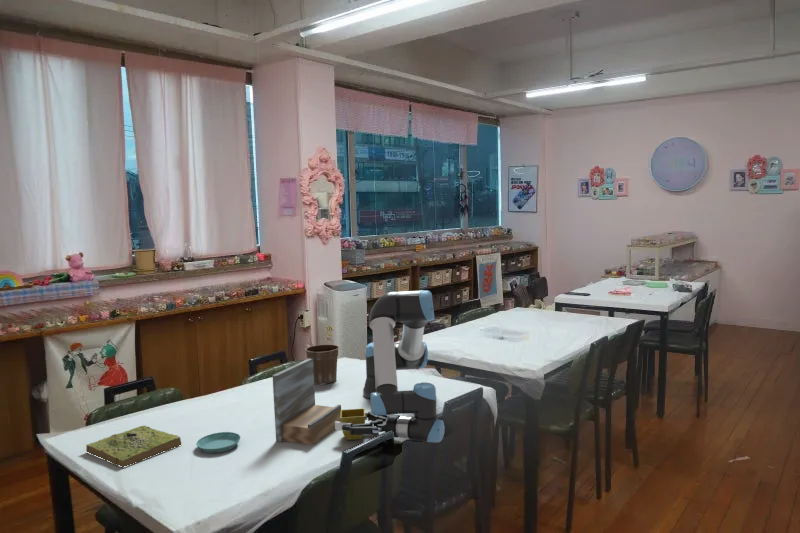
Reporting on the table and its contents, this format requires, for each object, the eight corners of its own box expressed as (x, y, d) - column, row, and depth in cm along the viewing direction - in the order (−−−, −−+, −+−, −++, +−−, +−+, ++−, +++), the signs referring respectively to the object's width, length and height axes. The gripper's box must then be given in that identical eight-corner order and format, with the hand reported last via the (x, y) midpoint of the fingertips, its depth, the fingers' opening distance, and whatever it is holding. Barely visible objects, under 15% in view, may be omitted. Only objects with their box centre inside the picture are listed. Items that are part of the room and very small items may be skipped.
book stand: (343, 422, 223) (340, 361, 221) (310, 446, 201) (306, 378, 199) (311, 418, 228) (308, 358, 226) (276, 441, 206) (272, 375, 204)
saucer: (195, 443, 208) (194, 436, 207) (237, 436, 213) (237, 429, 213) (198, 459, 194) (198, 451, 194) (243, 450, 200) (243, 443, 199)
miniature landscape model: (122, 470, 188) (121, 455, 188) (86, 454, 202) (84, 440, 201) (182, 446, 206) (181, 433, 205) (144, 433, 219) (143, 421, 219)
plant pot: (307, 377, 286) (305, 345, 285) (340, 375, 288) (339, 343, 286) (305, 386, 270) (304, 352, 269) (340, 384, 272) (339, 350, 270)
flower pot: (341, 433, 212) (340, 409, 211) (365, 431, 213) (364, 407, 212) (341, 442, 203) (340, 417, 202) (366, 441, 204) (365, 416, 203)
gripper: (386, 450, 190) (327, 442, 198) (412, 425, 212) (358, 418, 220) (385, 428, 189) (326, 420, 198) (411, 405, 211) (357, 399, 219)
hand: (343, 419), depth 209 cm, fingers closed on flower pot, 11 cm apart
